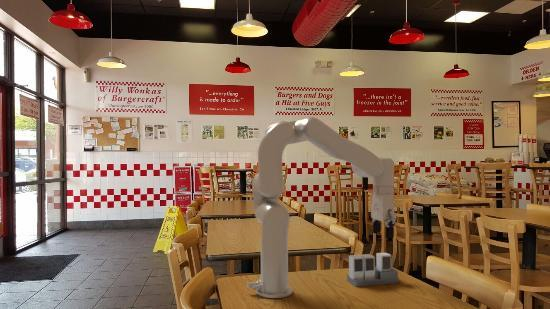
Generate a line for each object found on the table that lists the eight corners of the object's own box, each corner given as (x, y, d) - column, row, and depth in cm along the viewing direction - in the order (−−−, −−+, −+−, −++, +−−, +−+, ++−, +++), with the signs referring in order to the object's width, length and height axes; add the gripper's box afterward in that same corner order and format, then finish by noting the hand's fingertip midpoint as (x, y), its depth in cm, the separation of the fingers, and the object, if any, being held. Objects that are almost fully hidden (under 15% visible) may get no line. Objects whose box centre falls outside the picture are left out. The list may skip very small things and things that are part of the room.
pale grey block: (382, 277, 151) (382, 255, 151) (376, 274, 156) (376, 253, 156) (391, 276, 152) (391, 255, 152) (385, 273, 157) (385, 252, 157)
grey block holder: (356, 286, 147) (355, 259, 147) (346, 280, 155) (346, 254, 155) (398, 283, 151) (398, 256, 151) (387, 277, 159) (387, 251, 159)
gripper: (364, 188, 162) (363, 231, 161) (385, 192, 145) (385, 240, 145) (381, 188, 164) (380, 231, 163) (404, 192, 147) (404, 239, 147)
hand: (382, 235), depth 154 cm, fingers open, 9 cm apart
